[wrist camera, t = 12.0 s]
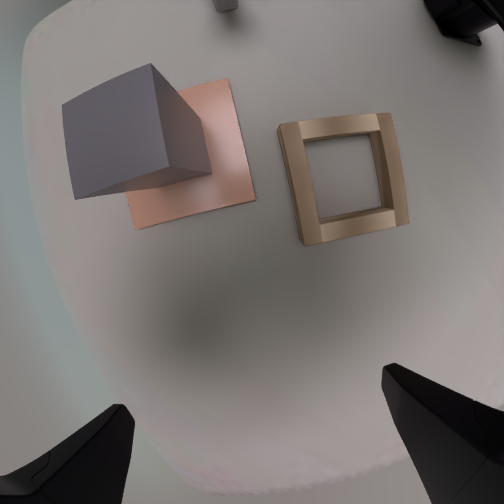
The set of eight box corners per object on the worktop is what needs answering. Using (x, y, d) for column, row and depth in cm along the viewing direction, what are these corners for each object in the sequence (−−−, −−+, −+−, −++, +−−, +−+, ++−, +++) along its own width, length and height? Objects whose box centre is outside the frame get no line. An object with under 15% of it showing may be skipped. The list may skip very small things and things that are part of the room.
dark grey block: (200, 118, 17) (150, 62, 7) (212, 173, 18) (169, 166, 8) (146, 135, 17) (61, 105, 8) (158, 188, 18) (74, 199, 9)
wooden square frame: (378, 117, 17) (390, 112, 15) (396, 219, 19) (409, 223, 17) (277, 130, 18) (279, 124, 16) (300, 239, 20) (305, 246, 18)
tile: (228, 80, 17) (227, 78, 16) (255, 199, 19) (255, 199, 18) (115, 117, 17) (111, 116, 17) (138, 228, 20) (135, 229, 19)
